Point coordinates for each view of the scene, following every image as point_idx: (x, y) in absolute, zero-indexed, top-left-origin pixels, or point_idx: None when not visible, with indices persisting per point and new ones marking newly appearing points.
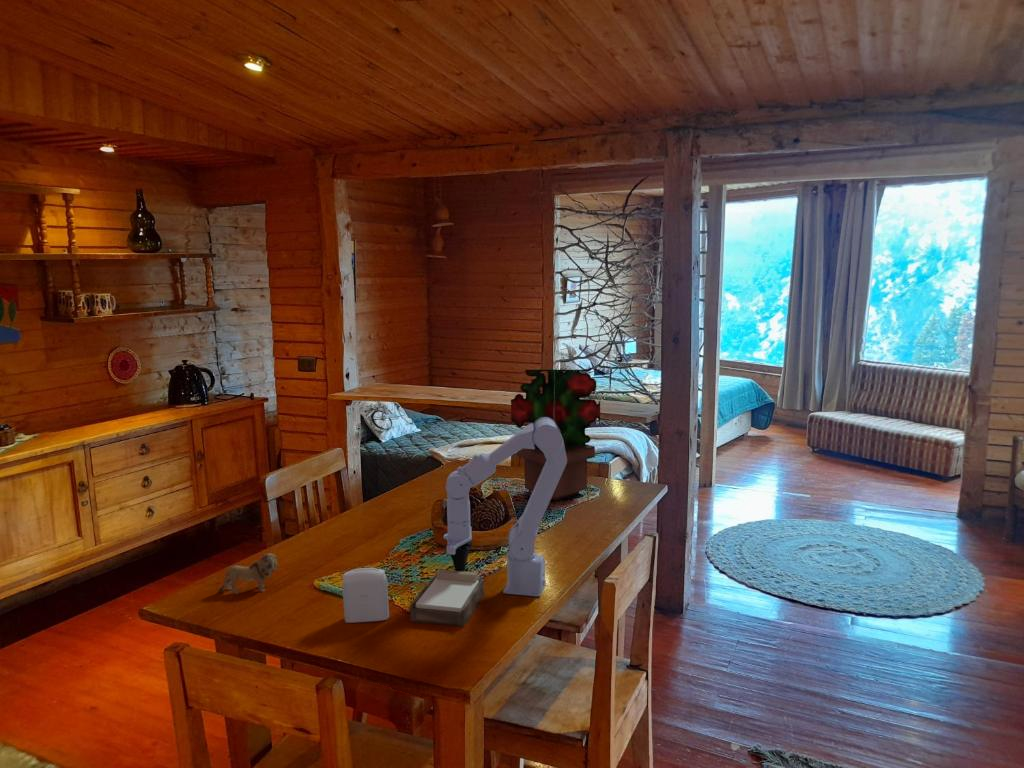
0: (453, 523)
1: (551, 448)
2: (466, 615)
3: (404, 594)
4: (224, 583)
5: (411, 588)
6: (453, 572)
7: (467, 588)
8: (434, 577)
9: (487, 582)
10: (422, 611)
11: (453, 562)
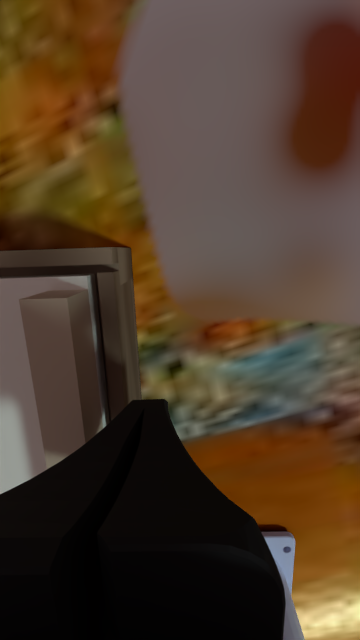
0: None
1: None
2: None
3: (29, 97)
4: None
5: (110, 106)
6: (53, 421)
7: (1, 490)
8: (71, 263)
9: (261, 452)
10: None
11: (98, 434)
